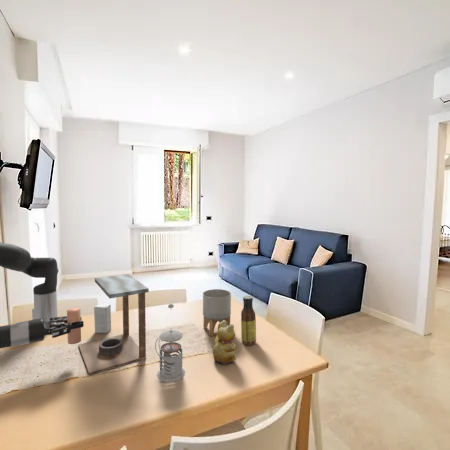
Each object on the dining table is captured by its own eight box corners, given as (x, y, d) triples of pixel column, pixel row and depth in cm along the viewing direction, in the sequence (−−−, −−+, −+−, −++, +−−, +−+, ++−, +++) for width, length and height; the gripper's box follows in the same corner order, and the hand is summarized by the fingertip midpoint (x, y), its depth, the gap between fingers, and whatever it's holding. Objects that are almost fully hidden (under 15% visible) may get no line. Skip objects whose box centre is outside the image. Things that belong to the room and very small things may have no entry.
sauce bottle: (257, 340, 129) (258, 295, 127) (254, 347, 123) (254, 300, 122) (242, 338, 131) (243, 294, 130) (238, 344, 125) (239, 298, 124)
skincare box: (111, 329, 139) (111, 304, 138) (107, 333, 135) (106, 307, 134) (99, 328, 139) (98, 303, 138) (94, 332, 135) (93, 306, 134)
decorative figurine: (240, 361, 112) (240, 323, 111) (224, 370, 106) (225, 329, 105) (222, 352, 119) (222, 315, 117) (206, 360, 113) (206, 321, 111)
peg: (65, 343, 108) (64, 311, 107) (72, 338, 112) (71, 307, 112) (76, 344, 108) (75, 312, 107) (83, 339, 112) (82, 308, 111)
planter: (197, 333, 135) (198, 295, 134) (209, 323, 147) (210, 287, 146) (224, 339, 130) (224, 299, 129) (234, 327, 142) (234, 291, 141)
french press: (172, 385, 97) (171, 311, 95) (147, 374, 103) (146, 304, 101) (191, 371, 105) (191, 302, 103) (166, 361, 111) (166, 296, 109)
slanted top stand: (89, 376, 102) (87, 298, 99) (78, 345, 123) (76, 280, 121) (149, 358, 113) (148, 288, 111) (129, 333, 135) (128, 274, 133)
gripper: (27, 329, 95) (85, 318, 105) (27, 314, 107) (79, 305, 117) (28, 351, 96) (85, 338, 105) (27, 334, 108) (79, 324, 117)
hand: (82, 321), depth 111 cm, fingers closed on peg, 4 cm apart
